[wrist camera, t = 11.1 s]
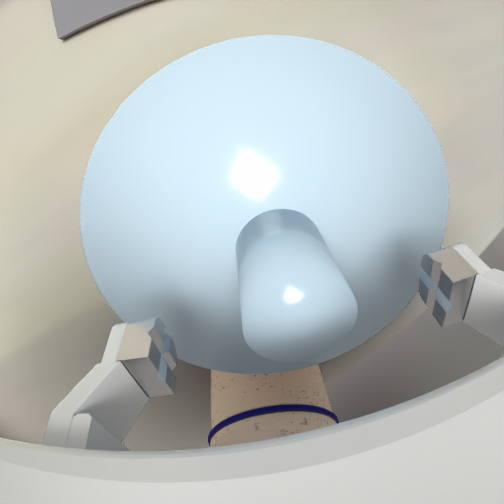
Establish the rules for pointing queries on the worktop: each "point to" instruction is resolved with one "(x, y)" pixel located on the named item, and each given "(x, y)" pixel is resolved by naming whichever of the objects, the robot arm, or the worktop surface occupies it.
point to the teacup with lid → (267, 405)
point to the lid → (264, 203)
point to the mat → (86, 13)
